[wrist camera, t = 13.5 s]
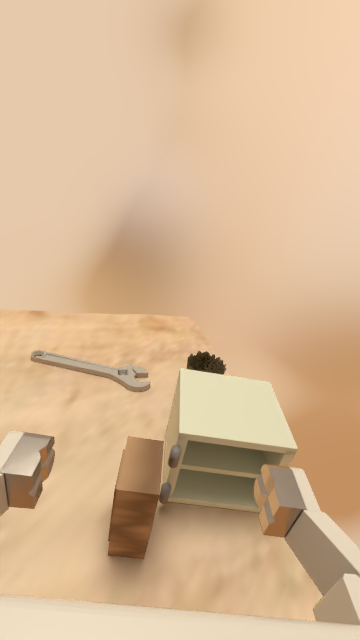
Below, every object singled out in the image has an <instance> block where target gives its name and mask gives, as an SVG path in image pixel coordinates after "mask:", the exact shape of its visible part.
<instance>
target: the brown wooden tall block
mask: <svg viewBox="0 0 360 640" xmlns="http://www.w3.org/2000/svg"><path fill="white" fill-rule="evenodd" d="M163 443H164V441H158V440H151V439H143V438H136V437H129V436H128V439H127V444H126V448H125V450H123V454H122V458H121V463H120V468H119V472H118V477H117V481H116V486H115V491H114V499H113V507H112V515H111V523H110V531H109V539H108V541H110V544H109V552H108V555H112V556H121V557H130V558H140V559H144V556H145V552H146V548H147V544H148V540H149V536H150V532H151V528H152V523H153V519H154V515H155V511H156V507H157V503H158V499H159V495H160V482H161V469H162V456H163Z"/></svg>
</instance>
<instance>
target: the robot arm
mask: <svg viewBox="0 0 360 640" xmlns="http://www.w3.org/2000/svg"><path fill="white" fill-rule="evenodd" d="M53 445H54V437H52V436H46V435H40V434H33V433H27V432H20V431H13V430H12V431H10V432H9V433H8V434H7V435H6V437H5V438H4V440H3V441H2V443H1V444H0V516H1V515H2V514H3V513H4V512H5V511H6V510H7V509H8V507H17V508H29V509H34V508H35V506H36V503H37V501H38V499H39V497H40V494H41V492H42V490H43V489H42V482H43V481H44V480H46V479H47V478H48V476H49V474H50V472H51V469H52V466H53V462H54V456H55V451H54V450H53V449H52V447H53ZM254 497H255V502H256V504H257V505H258V506H259V508H260V509H261V511H260V513H259V519H260V524H261V528H262V532H263V535H269V536H276V537H283V538H285V540H286V542H287V543H288V545H289V546H290V548H291V549H292V551H293V552H294V554H295V555H296V557H297V558H298V560H299V561H300V563H301V564H302V565H303V567H304V568H305V570H306V571H307V573H308V574H309V576H310V577H311V579H312V580H313V582H314V583H315V585H316V586H317V588H318V589H319V591H320V592H321V594H322V595H323V597H322V598H321V599H320V600H319V602H318V603H317V604H316V605H315V606H314V608H313V612H314V615H315V618H316V621H307V620H295V619H284V618H273V617H261V616H250V615H239V614H227V613H216V612H205V611H193V610H182V609H171V608H159V607H148V606H137V605H125V604H114V603H102V602H91V601H80V600H68V599H57V598H46V597H34V596H23V595H11V594H0V640H360V549H359V548H358V547H357V546H356V545H355V543H353V541H352V540H351V539H350V538H349V537H348V536H347V535H346V534H345V533H344V532H343V531H342V530H341V529H340V528H339V527H338V526H337V525H336V524H335V523H334V522H333V521H332V520H331V519H330V518H329V516H328V515H327V514H326V513H324V512H321V510H320V508H319V506H318V503H317V501H316V498H315V496H314V494H313V491H312V489H311V487H310V484H309V482H308V480H307V477H306V475H305V472H304V471H303V470H302V469H299V468H291V467H286V466H277V465H268V464H264V465H263V466H262V468H261V475H259V476H258V477H257V478H256V480H255V483H254Z"/></svg>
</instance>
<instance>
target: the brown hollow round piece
mask: <svg viewBox="0 0 360 640" xmlns="http://www.w3.org/2000/svg"><path fill="white" fill-rule="evenodd" d="M187 369H189V370H196V371H202V372H208V373H215V374H221V375H223V374H224V372H225V370H226V368H225V365H223V361H222V360H220V357H218V358H216V359H215V355H212V356H210V354H209V353H208V352H203V353H201V352H200V351H199V352H198V353H197V355H196V356H195V355H194V356H193V354H191V355H190V357H188V363H187Z"/></svg>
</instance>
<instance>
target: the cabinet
mask: <svg viewBox="0 0 360 640" xmlns="http://www.w3.org/2000/svg"><path fill="white" fill-rule="evenodd" d="M297 450H298V448H297V446H296V443H295V441H294V438H293V436H292V434H291V431H290V429H289V426H288V424H287V422H286V419H285V417H284V415H283V412H282V410H281V407H280V405H279V402H278V400H277V398H276V395H275V393H274V390H273V388H272V386H271V383H270V382H266V381H260V380H253V379H247V378H241V377H234V376H228V375H221V374H215V373H208V372H202V371H196V370H189V369H183V368H180V372H179V376H178V381H177V385H176V390H175V394H174V399H173V403H172V407H171V412H170V416H169V421H168V425H167V431H166V446H165V461H164V476H163V485H162V488H161V492H160V496H159V501H160V502H161V503H162V504H165V503H167V502H176V503H184V504H192V505H201V506H209V507H217V508H226V509H234V510H242V511H251V512H259V513H260V511H261V509H260V508H259V506H258V505H257V504H256V502H255V497H254V483H255V480H256V478H257V477H258V476H259V475H261V468H262V466H263V465H264V464H268V465H277V466H286V467H288V466H289V464H290V463H291V461H292V459H293V457H294V455H295V453H296V452H297Z"/></svg>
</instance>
